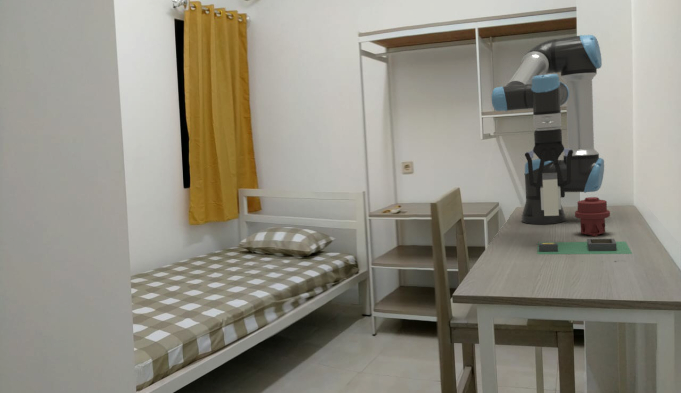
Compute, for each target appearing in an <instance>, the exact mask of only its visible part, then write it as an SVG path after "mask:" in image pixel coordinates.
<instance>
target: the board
mask: <svg viewBox="0 0 681 393" xmlns="http://www.w3.org/2000/svg"><path fill="white" fill-rule="evenodd" d="M627 254H628V255H633V252H632V250H631V248H630V247H629V245H628V243H627V241H625V240H624V241H616V240H615V238H586V241H564V242H563V241H556V242H551V241H550V242H548V241H545V242H538V243H537V253H536V255H627Z"/></svg>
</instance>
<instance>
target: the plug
mask: <svg viewBox="0 0 681 393" xmlns="http://www.w3.org/2000/svg"><path fill="white" fill-rule="evenodd" d="M542 180H543V199H544V216H559V208H558V185H557V173H543V174H542Z"/></svg>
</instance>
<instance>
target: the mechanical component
mask: <svg viewBox="0 0 681 393" xmlns="http://www.w3.org/2000/svg"><path fill="white" fill-rule="evenodd" d="M607 203H608V202H607V200H604V199H600V198H599V197H597V196H596V197H595V196H591V197H585V198H584V199H582V200H579V201H577V210H576V211H574V215H575V216H574V217H575V218H577V219H579V220H580V233H581V234H582V235H587V236H588V235H589V236H591V237H598V236H599V235H601V234H604V233H606V219H608V218H610V216H611V211H610V210H608V206H607Z"/></svg>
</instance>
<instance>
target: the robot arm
mask: <svg viewBox="0 0 681 393" xmlns="http://www.w3.org/2000/svg"><path fill="white" fill-rule="evenodd" d="M600 49H601V47H600V44H599V41H598V39H597V36H595V35H593V34H584V35H582V34H580V35H575V36H568V37H562V38H556V39H554V38H553V39H549V40H545V41H543V42H540V43H539V44H537V45H534V46H533V47H532V48H531V49H530V50H528V51H527V52H526V53H525V54H524V56H523V57H522V59H521V61H520V66H519V67H518V69H516V72H515V73H514V74H513V76H512V77H511V78H510V80H509V81H508V82H507V84H506V85H505V86H502V85H501V86H497V87H495V88H494V89H493V90H492V93H491V104H492V108H493V109H494V110H495V111H497V112H509V111H520V110H530V109H531V110H532V112H533V115H532V116H533V118H532V119H533V128H534V129H535V130H534V132H533V138H534V141H533V142H534V146H533V148H532V150H530V151H526V152H525V153H524V156H525V158H526V163H525V164H524V183H525V184H524V185H525V186H524V187H525V188H524V189H525V203H524V206H523V209H522V210H523V211H522V214H521V221H522V223H524V224H530V225H551V224H553V225H554V224H559V223H560V224H561V223H563V222H565V221H566V213H565V210H564V208H563V205H562V198H565V196H566V193H584V194H587V193H595V192H598V191H599V190H600V189H601V186H602V185H603V179H604V175H605V174H604V173H605V160H604V158H602V157H599V156H600V154H599V152H598V151H597V150H596V149H595V143H594V141H595V140H594V138H595V137H594V109H593V108H594V105H593V104H594V102H593V99H594V98H593V79H594V78H595V77H596V75H597V74H598V73H597V71H598V70H599V69H601V68H602V66H603V65H602V61H603V60H602V53H601V50H600ZM557 73H560V76H559V75H558V74H557ZM560 78H561V79H562V80H563V81H564V82H565V83H564V82H562V81H560ZM564 104H566V125H567V126H566V130H567V131H566V133H567V148H566V147H564V144H563V137H562V136H563V135H562V133H563V132H562V129H561V127H562V113H561V106H563V105H564ZM563 153H564V154H563ZM562 154H563V159H559V157H560V156H561V155H562ZM534 155H536V157H537V159H533V158H534ZM543 173H557V185H558V208H559V216H544V199H543V180H542V174H543Z"/></svg>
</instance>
